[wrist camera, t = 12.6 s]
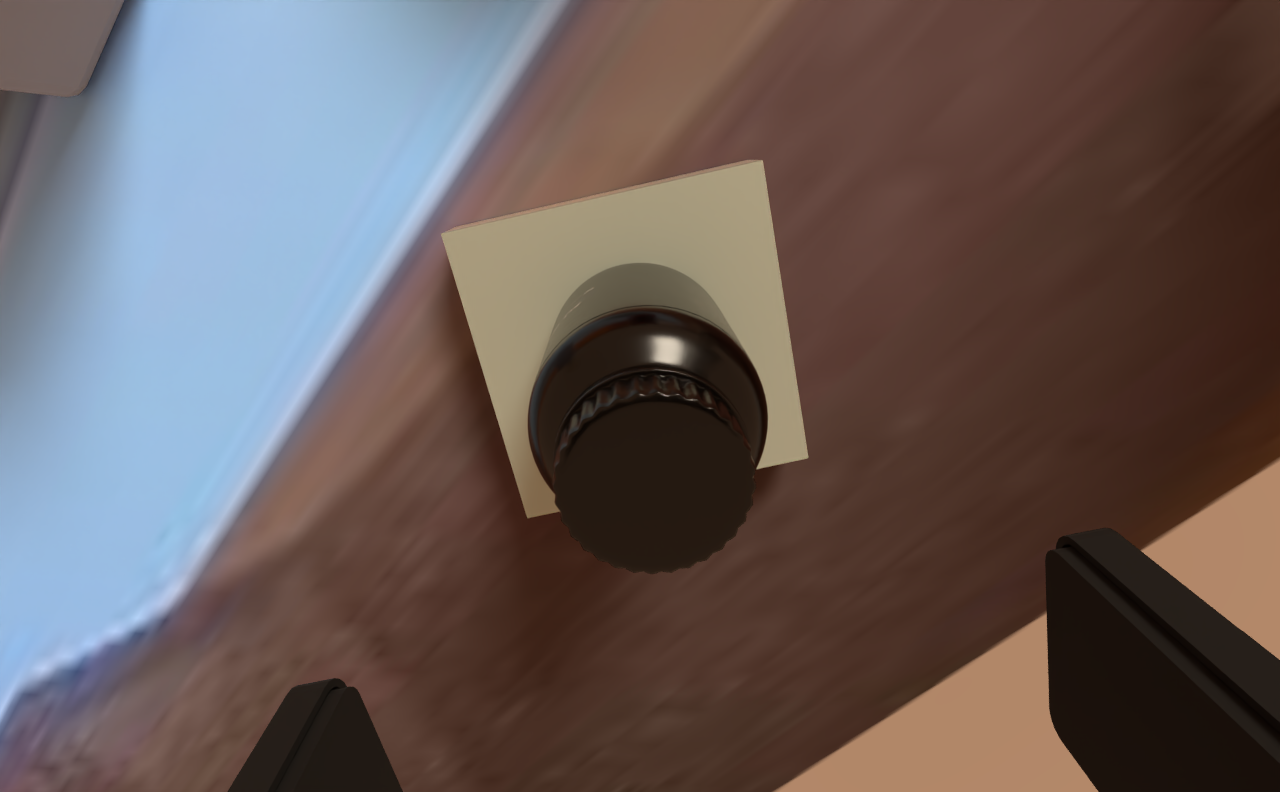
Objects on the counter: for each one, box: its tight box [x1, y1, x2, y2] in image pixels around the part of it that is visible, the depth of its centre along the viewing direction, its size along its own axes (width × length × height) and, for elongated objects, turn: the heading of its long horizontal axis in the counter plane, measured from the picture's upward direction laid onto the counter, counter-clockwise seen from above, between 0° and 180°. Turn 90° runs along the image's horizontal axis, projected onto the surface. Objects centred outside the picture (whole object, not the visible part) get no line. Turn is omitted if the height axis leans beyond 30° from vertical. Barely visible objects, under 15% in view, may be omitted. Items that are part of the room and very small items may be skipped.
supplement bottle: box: [527, 263, 768, 574], centre depth 22 cm, size 7×7×12 cm
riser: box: [441, 160, 808, 518], centre depth 29 cm, size 12×12×3 cm
